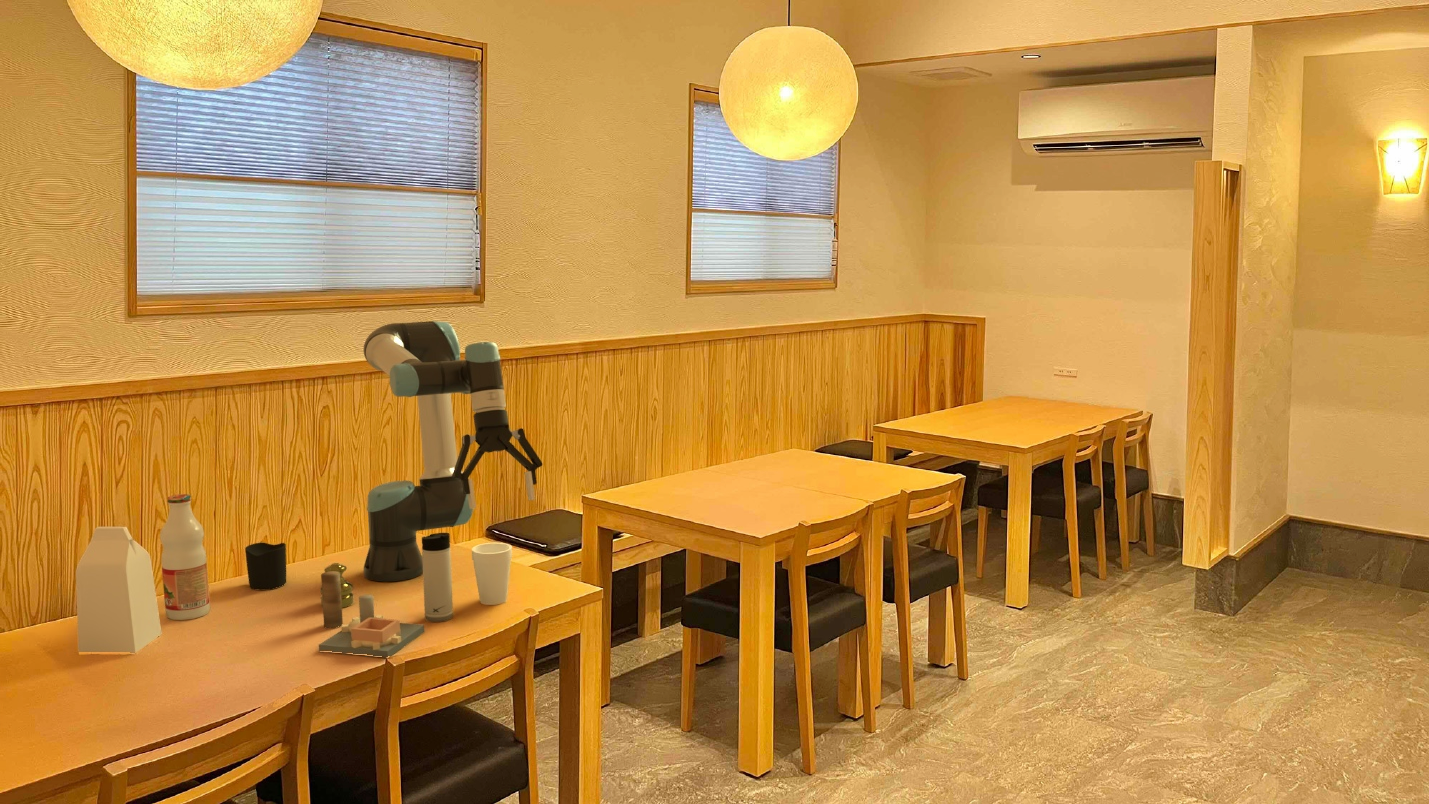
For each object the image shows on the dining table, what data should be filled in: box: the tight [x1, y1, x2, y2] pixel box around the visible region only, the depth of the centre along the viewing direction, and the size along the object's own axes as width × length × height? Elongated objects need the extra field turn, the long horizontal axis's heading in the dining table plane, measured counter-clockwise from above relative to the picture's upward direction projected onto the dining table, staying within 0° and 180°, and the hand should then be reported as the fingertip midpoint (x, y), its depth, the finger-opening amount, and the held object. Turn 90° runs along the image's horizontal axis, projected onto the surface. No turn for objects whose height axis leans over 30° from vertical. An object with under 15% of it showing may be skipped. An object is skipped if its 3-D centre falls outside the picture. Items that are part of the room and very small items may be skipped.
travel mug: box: [421, 532, 454, 623], centre depth 259 cm, size 6×7×20 cm
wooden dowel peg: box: [320, 571, 344, 629], centre depth 255 cm, size 4×4×12 cm
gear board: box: [318, 594, 426, 657], centre depth 245 cm, size 16×16×9 cm
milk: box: [75, 526, 163, 653], centre depth 242 cm, size 12×12×26 cm
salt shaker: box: [319, 562, 354, 609], centre depth 269 cm, size 7×7×10 cm
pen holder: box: [244, 542, 287, 590], centre depth 283 cm, size 9×9×10 cm
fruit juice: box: [159, 493, 211, 621], centre depth 261 cm, size 9×9×28 cm
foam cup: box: [471, 542, 513, 606], centre depth 271 cm, size 10×9×13 cm
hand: (502, 504), depth 254 cm, fingers open, 13 cm apart
